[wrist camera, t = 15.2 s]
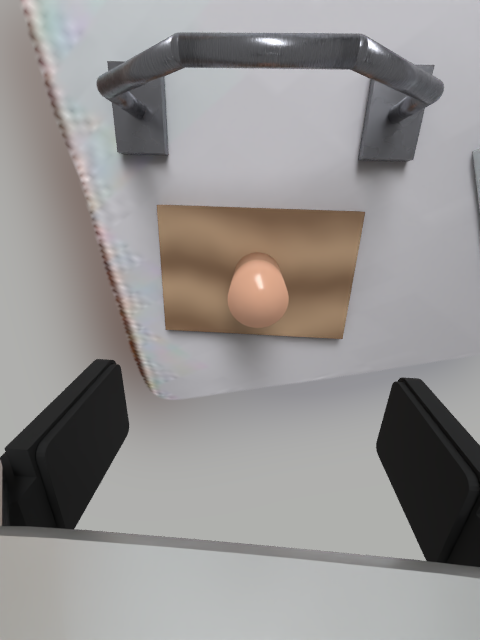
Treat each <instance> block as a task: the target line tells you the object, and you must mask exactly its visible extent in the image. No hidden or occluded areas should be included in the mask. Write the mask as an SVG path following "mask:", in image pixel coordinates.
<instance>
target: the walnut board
mask: <svg viewBox="0 0 480 640" xmlns="http://www.w3.org/2000/svg"><path fill="white" fill-rule="evenodd" d="M157 215H158V229H159V242H160V256H161V270H162V284H163V298H164V312H165V326H166V330H183V331H201V332H220V333H239V334H258V335H277V336H295V337H314V338H333V339H342V338H343V333H344V327H345V321H346V316H347V310H348V305H349V299H350V294H351V288H352V282H353V277H354V271H355V266H356V260H357V255H358V249H359V244H360V238H361V232H362V227H363V221H364V216H365V212H360V211H330V210H300V209H271V208H241V207H211V206H182V205H157ZM255 252H261V253H265V254H268V255H270V256H271V257H272V258H274V259H275V260H276V262H277V263H278V265H279V267H280V270H281V273H282V276H283V279H284V282H285V285H286V288H287V291H288V296H289V302H288V307H287V310H286V312H285V314H284V315H283V316H282V318H281V319H280V320H278V321H277V322H276V323H274V324H272V325H270V326H268V327H264V328H252V327H248V326H245V325H243V324H241V323H240V322H239V321H237V320H236V319H235V318H234V316H233V315H232V314H231V312H230V310H229V307H228V292H229V288H230V285H231V281H232V278H233V274H234V270H235V267H236V265H237V263H238V262H239V261H240V260H241V258H243V257H244V256H246V255H248V254H250V253H255Z"/></svg>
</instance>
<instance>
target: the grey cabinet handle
mask: <svg viewBox="0 0 480 640" xmlns="http://www.w3.org/2000/svg"><path fill="white" fill-rule="evenodd" d="M107 62H108V72H106V73H104V74H102V75H101V76H99V77H98V79H97V88H98V91H99V92H100V94H101V95H102V96H103V97H105V98H106V99H108V100H109V101H111V102H112V107H113V116H114V125H115V134H116V143H117V151H118V152H119V153H122V154H146V155H168V137H167V119H166V101H165V83H164V76H166V75H168V74H171V73H173V72H176V71H178V70H180V69H183V68H185V67H188V68H272V69H350V70H353V71H355V72H357V73H359V74H361V75H363V76H366V77H368V78H370V79H371V83H370V90H369V96H368V102H367V108H366V114H365V121H364V127H363V133H362V139H361V145H360V152H359V158H358V160H379V161H410V160H413V158H414V154H415V149H416V145H417V141H418V136H419V132H420V127H421V123H422V118H423V114H424V109H425V107H427V106H429V105H431V104H432V103H434V102H436V101H437V100H438V99H439V98H440V97H441V95H442V93H443V91H444V84H443V82H442V81H441V80H440V79H438V78H436V77H434V76H433V75H432V73H433V69H434V65H414V64H413V63H411V62H409V61H407V60H406V59H404V58H402V57H401V56H399V55H397V54H396V53H394V52H392V51H391V50H389V49H387V48H386V47H384V46H382V45H380V44H379V43H377V42H375V41H374V40H372V39H370V38H369V37H367V36H365V35H363V34H335V33H175V34H174V35H172V36H170V37H168V38H167V39H165V40H163V41H161V42H159V43H158V44H156V45H154V46H152V47H151V48H149V49H147V50H145V51H143V52H142V53H140V54H138V55H136V56H134V57H133V58H131V59H129V60H127V61H126V62H119V61H107Z"/></svg>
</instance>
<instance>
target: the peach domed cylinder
mask: <svg viewBox="0 0 480 640" xmlns="http://www.w3.org/2000/svg"><path fill="white" fill-rule="evenodd" d="M288 302H289V296H288V291H287V288H286V285H285V282H284V279H283V276H282V273H281V270H280V267H279V265H278V263H277V262H276V260H275V259H274V258H272V257H271V256H270V255H268V254H265V253H261V252H255V253H250V254H248V255H246V256H244V257H243V258H241V260H240V261H239V262H238V263H237V265H236V267H235V270H234V274H233V278H232V281H231V285H230V288H229V292H228V307H229V310H230V312H231V314H232V315H233V316H234V318H235V319H236V320H237V321H239V322H240V323H241V324H243V325H245V326H248V327H252V328H264V327H268V326H270V325H272V324H274V323H276V322H277V321H278V320H280V319H281V318H282V316H283V315H284V314H285V312H286V310H287V307H288Z"/></svg>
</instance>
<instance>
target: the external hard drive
mask: <svg viewBox="0 0 480 640" xmlns="http://www.w3.org/2000/svg"><path fill="white" fill-rule="evenodd" d="M472 154H473V161H474V170H475V178H476V186H477V194H478V203H479V211H480V149H477V150H475V151H473V152H472Z"/></svg>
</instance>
